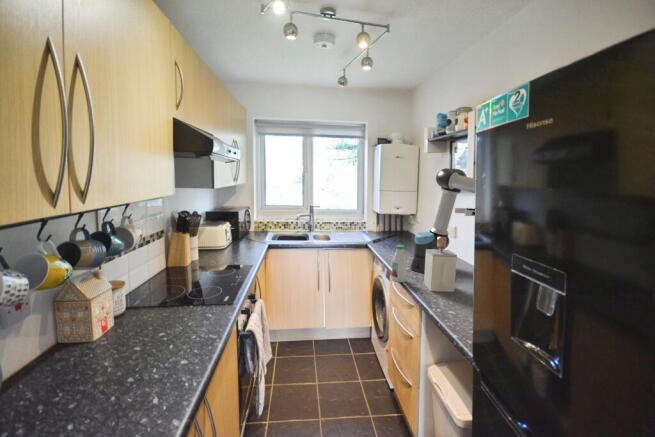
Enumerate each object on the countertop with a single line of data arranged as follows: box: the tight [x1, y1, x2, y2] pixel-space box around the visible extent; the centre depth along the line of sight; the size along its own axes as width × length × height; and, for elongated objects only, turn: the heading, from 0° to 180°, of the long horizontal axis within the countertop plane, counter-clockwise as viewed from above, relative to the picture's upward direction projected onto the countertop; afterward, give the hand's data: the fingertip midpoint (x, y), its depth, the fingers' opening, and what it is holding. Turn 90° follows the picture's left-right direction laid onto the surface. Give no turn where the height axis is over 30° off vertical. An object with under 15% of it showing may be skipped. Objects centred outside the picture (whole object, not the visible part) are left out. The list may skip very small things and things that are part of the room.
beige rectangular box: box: [423, 249, 458, 293], centre depth 167 cm, size 16×12×19 cm
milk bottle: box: [391, 244, 407, 283], centre depth 179 cm, size 8×8×20 cm
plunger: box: [437, 237, 447, 253], centre depth 168 cm, size 7×7×26 cm
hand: (459, 211), depth 171 cm, fingers open, 13 cm apart
